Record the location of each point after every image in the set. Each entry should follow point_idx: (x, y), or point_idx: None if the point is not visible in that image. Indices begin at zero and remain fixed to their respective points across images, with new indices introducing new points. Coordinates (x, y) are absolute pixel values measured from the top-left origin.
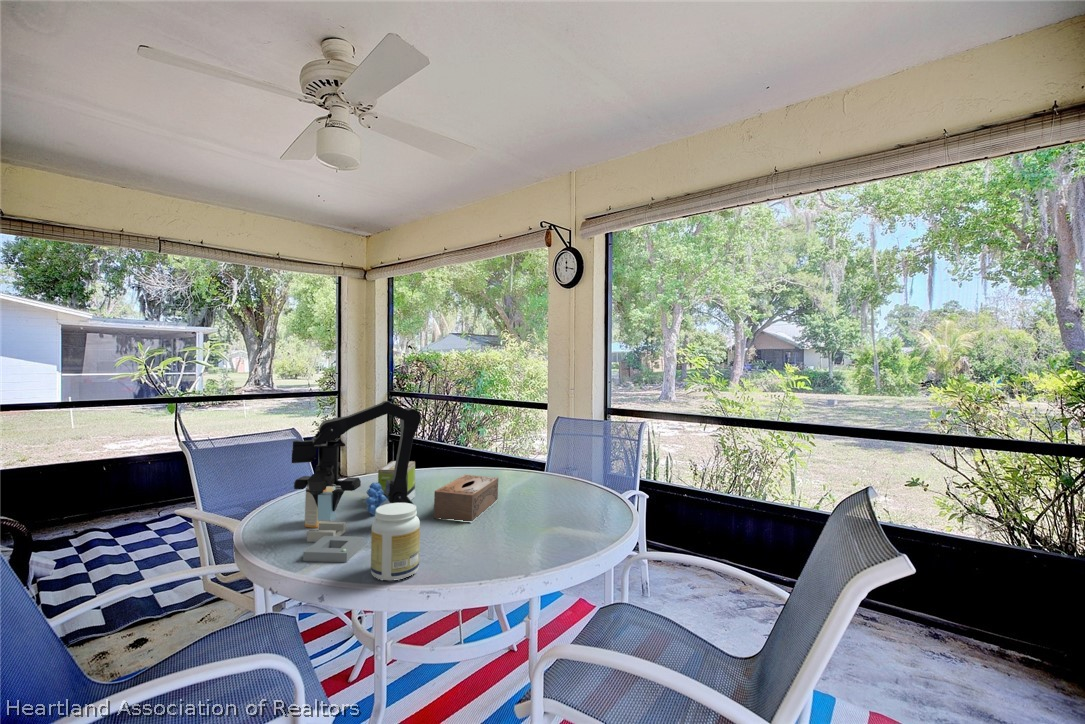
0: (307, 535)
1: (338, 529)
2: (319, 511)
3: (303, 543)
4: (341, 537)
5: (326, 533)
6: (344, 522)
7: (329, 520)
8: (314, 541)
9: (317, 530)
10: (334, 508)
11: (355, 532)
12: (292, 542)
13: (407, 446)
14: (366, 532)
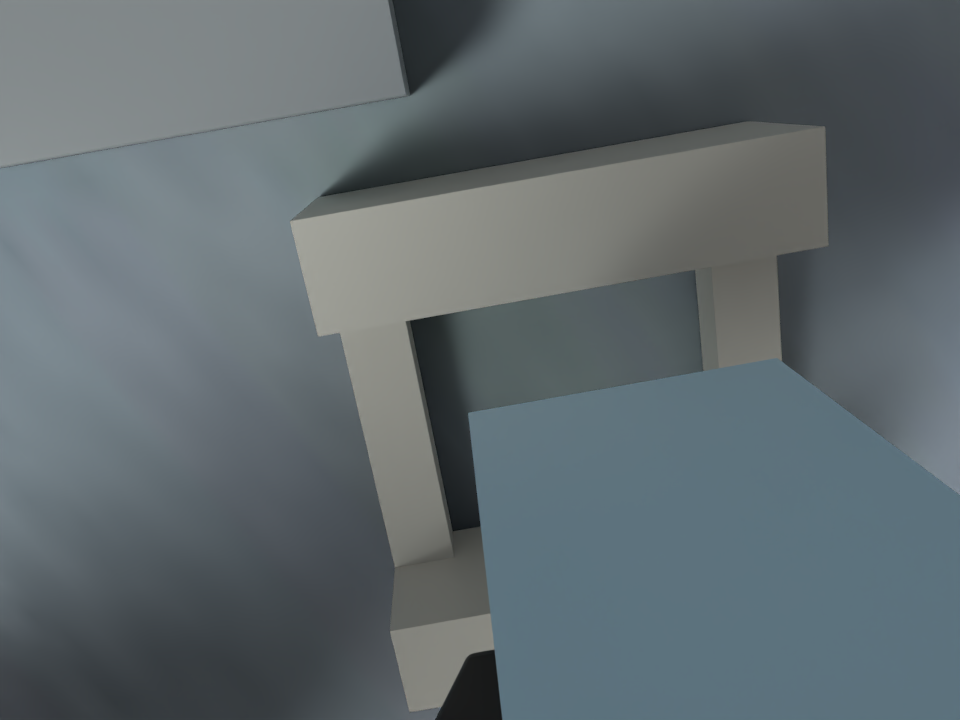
0: (782, 126)
1: (476, 560)
2: (846, 466)
3: (758, 37)
4: (6, 93)
5: (427, 194)
6: (429, 696)
7: (489, 418)
8: (624, 145)
9: (661, 240)
10: (443, 709)
11: (261, 620)
12: (956, 32)
13: None
14: (110, 659)
